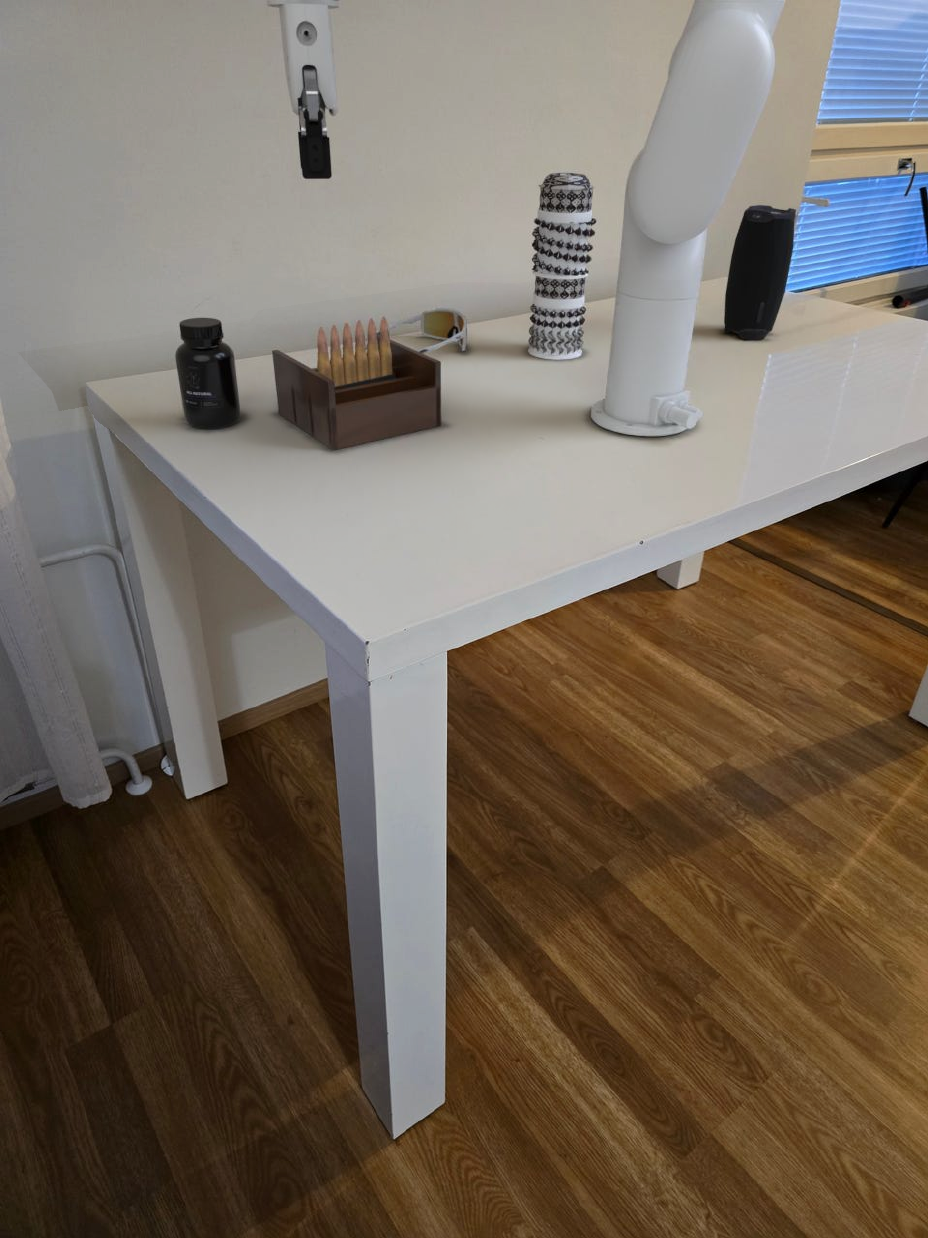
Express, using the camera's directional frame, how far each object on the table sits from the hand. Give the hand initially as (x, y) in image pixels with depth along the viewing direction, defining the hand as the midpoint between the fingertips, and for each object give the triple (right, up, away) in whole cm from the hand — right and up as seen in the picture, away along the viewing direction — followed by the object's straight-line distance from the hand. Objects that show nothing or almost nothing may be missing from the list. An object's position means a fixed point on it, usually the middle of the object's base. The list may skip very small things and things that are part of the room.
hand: (315, 173), depth 98 cm
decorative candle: (+32, -9, +36) cm, 49 cm away
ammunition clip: (+4, -27, +9) cm, 28 cm away
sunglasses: (+10, -9, +37) cm, 39 cm away
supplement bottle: (-14, -27, +8) cm, 31 cm away
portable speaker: (+65, -3, +47) cm, 81 cm away
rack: (+4, -26, +9) cm, 28 cm away
